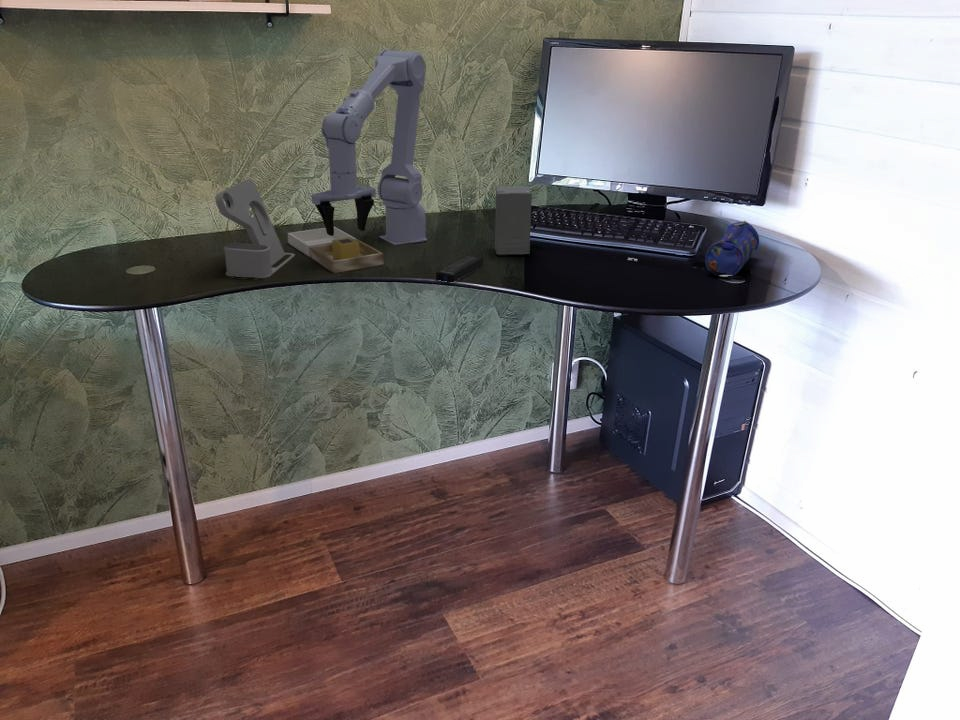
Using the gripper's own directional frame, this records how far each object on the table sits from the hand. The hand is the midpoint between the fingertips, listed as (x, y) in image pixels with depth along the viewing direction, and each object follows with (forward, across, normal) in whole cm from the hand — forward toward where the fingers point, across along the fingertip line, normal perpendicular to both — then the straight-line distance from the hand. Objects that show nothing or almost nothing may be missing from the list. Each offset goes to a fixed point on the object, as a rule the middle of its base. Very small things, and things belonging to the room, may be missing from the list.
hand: (346, 232), depth 173 cm
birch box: (+7, 0, 0) cm, 7 cm away
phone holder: (+7, -18, +7) cm, 20 cm away
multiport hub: (+8, +18, -18) cm, 27 cm away
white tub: (+7, 0, +13) cm, 15 cm away
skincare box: (+8, +37, -13) cm, 40 cm away
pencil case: (+8, +77, -46) cm, 90 cm away
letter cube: (+7, 0, 0) cm, 7 cm away
